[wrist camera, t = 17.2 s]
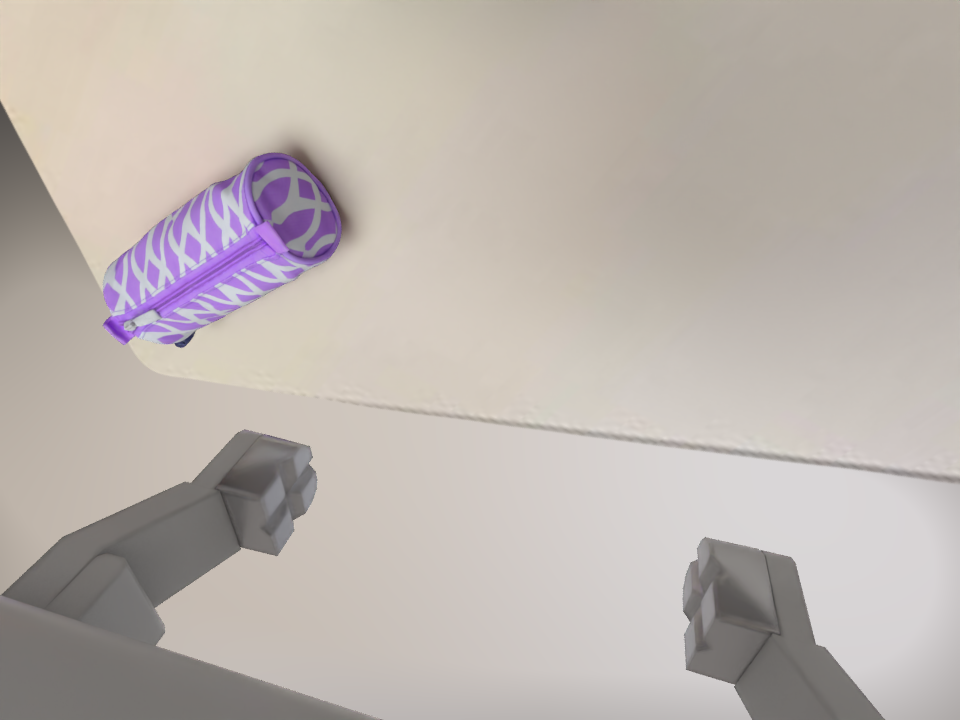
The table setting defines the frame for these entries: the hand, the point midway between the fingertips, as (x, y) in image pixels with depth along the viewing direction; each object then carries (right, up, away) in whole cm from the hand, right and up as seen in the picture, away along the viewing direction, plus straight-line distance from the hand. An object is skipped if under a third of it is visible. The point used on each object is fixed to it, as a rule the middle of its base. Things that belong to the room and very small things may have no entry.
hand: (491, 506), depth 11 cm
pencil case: (-21, +14, +36) cm, 44 cm away
